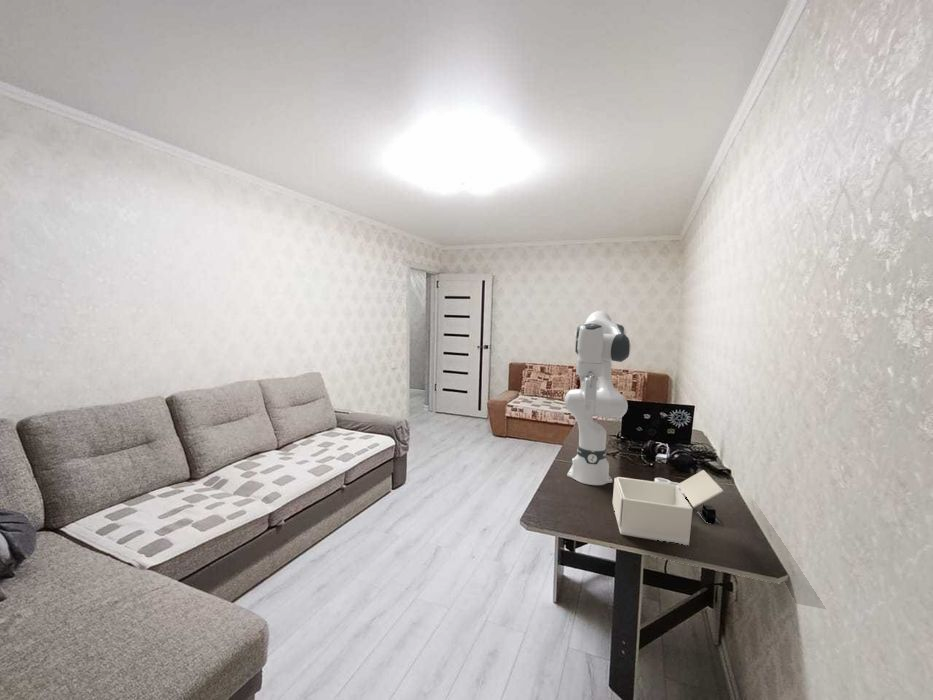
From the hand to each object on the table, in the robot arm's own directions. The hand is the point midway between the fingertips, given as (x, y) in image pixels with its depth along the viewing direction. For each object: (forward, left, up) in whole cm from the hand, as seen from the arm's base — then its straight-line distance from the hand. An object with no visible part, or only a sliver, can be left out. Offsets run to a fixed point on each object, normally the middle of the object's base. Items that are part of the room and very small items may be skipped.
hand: (587, 409), depth 138 cm
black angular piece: (-11, +45, -38) cm, 60 cm away
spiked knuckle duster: (-28, +37, -38) cm, 60 cm away
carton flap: (+3, +36, -21) cm, 42 cm away
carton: (+3, +22, -37) cm, 44 cm away
